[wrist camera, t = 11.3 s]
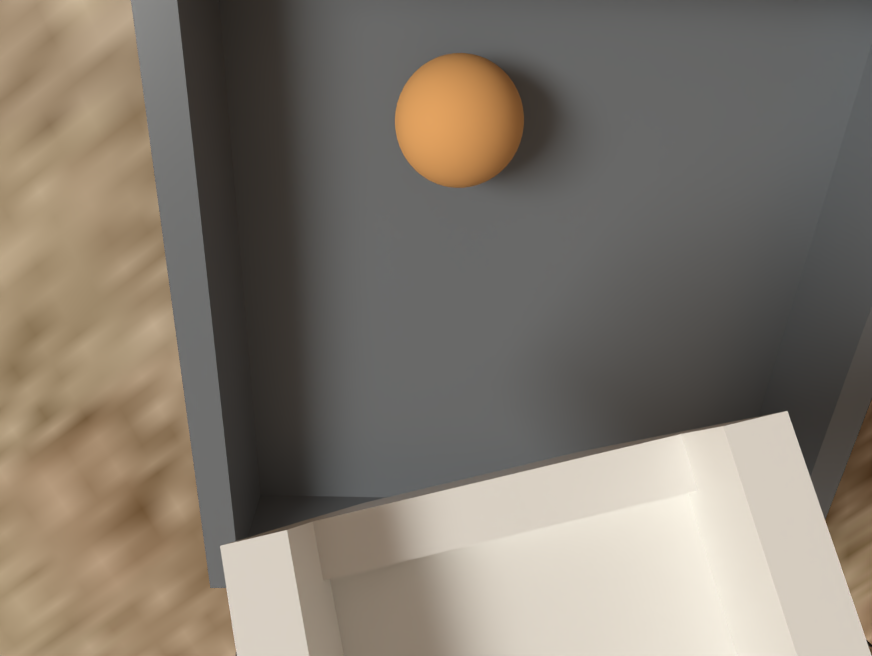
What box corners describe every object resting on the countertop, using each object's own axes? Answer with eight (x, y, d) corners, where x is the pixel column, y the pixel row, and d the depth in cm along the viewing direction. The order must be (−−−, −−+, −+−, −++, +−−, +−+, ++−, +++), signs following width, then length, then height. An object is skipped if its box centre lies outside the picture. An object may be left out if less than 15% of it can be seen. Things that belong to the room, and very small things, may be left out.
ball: (490, 59, 20) (416, 151, 21) (429, 3, 17) (347, 114, 18) (568, 130, 18) (484, 224, 19) (517, 81, 15) (421, 197, 16)
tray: (241, 498, 27) (210, 587, 23) (181, -101, 18) (113, -129, 14) (740, 507, 28) (796, 594, 23) (916, -59, 19) (1053, -74, 15)
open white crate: (644, 688, 15) (1023, 1098, 5) (411, 745, 15) (333, 1287, 5) (580, 451, 16) (787, 410, 6) (362, 503, 16) (221, 545, 6)
